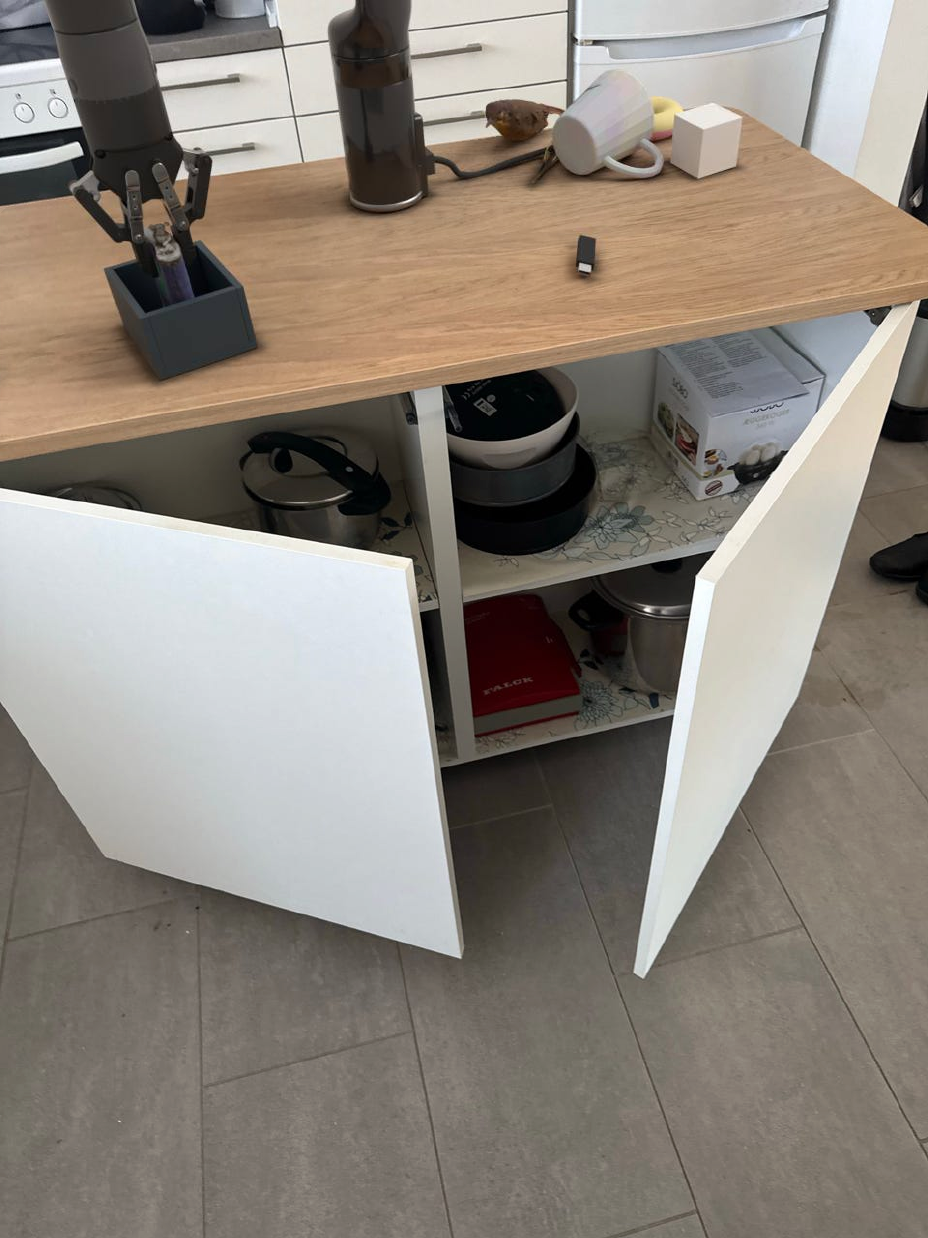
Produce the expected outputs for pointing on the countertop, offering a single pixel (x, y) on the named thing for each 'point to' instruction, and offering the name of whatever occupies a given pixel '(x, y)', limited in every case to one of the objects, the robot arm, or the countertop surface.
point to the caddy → (184, 315)
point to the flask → (168, 265)
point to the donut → (664, 117)
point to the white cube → (705, 140)
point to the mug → (607, 127)
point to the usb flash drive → (585, 254)
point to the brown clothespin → (543, 167)
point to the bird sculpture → (519, 117)
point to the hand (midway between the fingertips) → (169, 268)
